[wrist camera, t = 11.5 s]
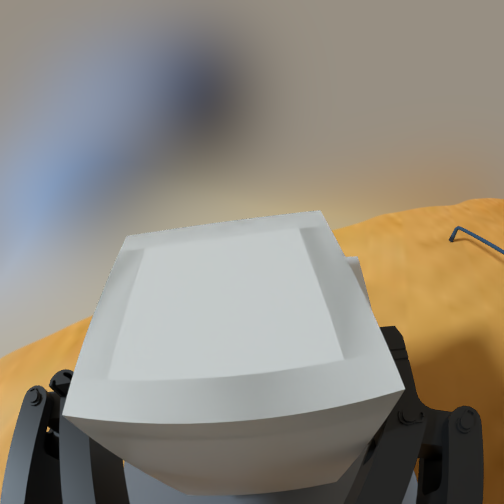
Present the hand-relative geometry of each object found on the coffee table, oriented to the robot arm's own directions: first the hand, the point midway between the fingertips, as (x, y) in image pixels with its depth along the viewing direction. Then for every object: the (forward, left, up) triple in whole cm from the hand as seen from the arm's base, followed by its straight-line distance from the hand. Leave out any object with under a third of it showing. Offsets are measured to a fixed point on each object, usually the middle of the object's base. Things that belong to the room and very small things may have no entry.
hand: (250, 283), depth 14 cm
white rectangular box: (+1, +5, -6) cm, 8 cm away
